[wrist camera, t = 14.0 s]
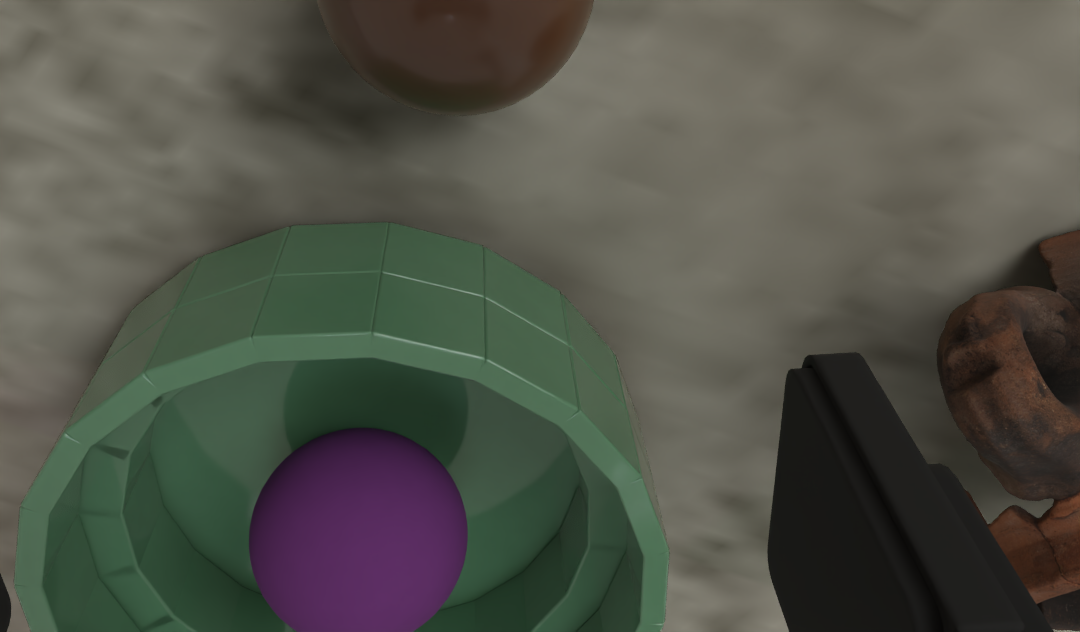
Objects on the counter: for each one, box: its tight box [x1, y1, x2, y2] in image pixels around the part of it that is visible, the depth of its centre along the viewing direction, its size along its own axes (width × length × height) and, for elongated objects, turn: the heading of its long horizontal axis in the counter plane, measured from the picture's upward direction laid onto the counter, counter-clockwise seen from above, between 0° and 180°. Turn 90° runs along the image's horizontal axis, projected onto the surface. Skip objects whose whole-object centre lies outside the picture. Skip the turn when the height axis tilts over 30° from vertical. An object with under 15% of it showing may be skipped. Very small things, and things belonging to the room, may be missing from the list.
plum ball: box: [249, 428, 468, 632], centre depth 25 cm, size 5×5×5 cm
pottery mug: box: [937, 230, 1080, 631], centre depth 25 cm, size 12×10×8 cm
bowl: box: [14, 222, 670, 632], centre depth 25 cm, size 14×14×6 cm
